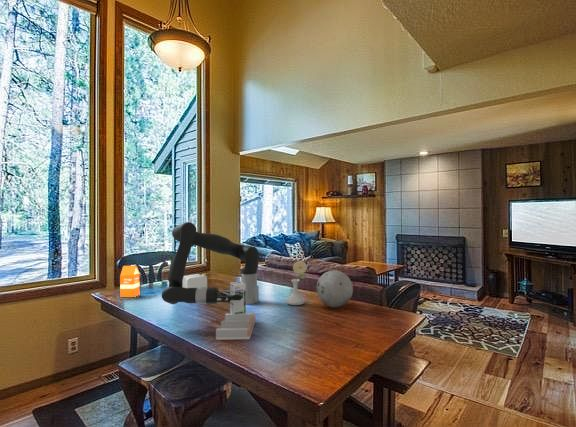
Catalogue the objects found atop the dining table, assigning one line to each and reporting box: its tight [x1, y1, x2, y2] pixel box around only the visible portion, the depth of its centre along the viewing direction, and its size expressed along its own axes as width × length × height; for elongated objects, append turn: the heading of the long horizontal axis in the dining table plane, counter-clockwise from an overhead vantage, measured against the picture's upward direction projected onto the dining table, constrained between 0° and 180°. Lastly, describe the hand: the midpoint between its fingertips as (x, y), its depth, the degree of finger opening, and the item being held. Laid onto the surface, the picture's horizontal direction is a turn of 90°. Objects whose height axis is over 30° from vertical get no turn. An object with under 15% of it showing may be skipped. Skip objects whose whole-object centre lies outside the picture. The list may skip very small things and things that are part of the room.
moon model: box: [316, 269, 354, 308], centre depth 176 cm, size 20×20×20 cm
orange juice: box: [119, 265, 141, 298], centre depth 205 cm, size 8×9×20 cm
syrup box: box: [229, 281, 247, 316], centre depth 148 cm, size 6×6×14 cm
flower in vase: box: [285, 260, 308, 306], centre depth 182 cm, size 13×11×25 cm
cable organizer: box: [183, 273, 208, 288], centre depth 212 cm, size 15×11×12 cm
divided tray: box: [215, 312, 256, 341], centre depth 143 cm, size 14×22×4 cm, turn 0°
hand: (242, 295), depth 148 cm, fingers closed on syrup box, 7 cm apart
